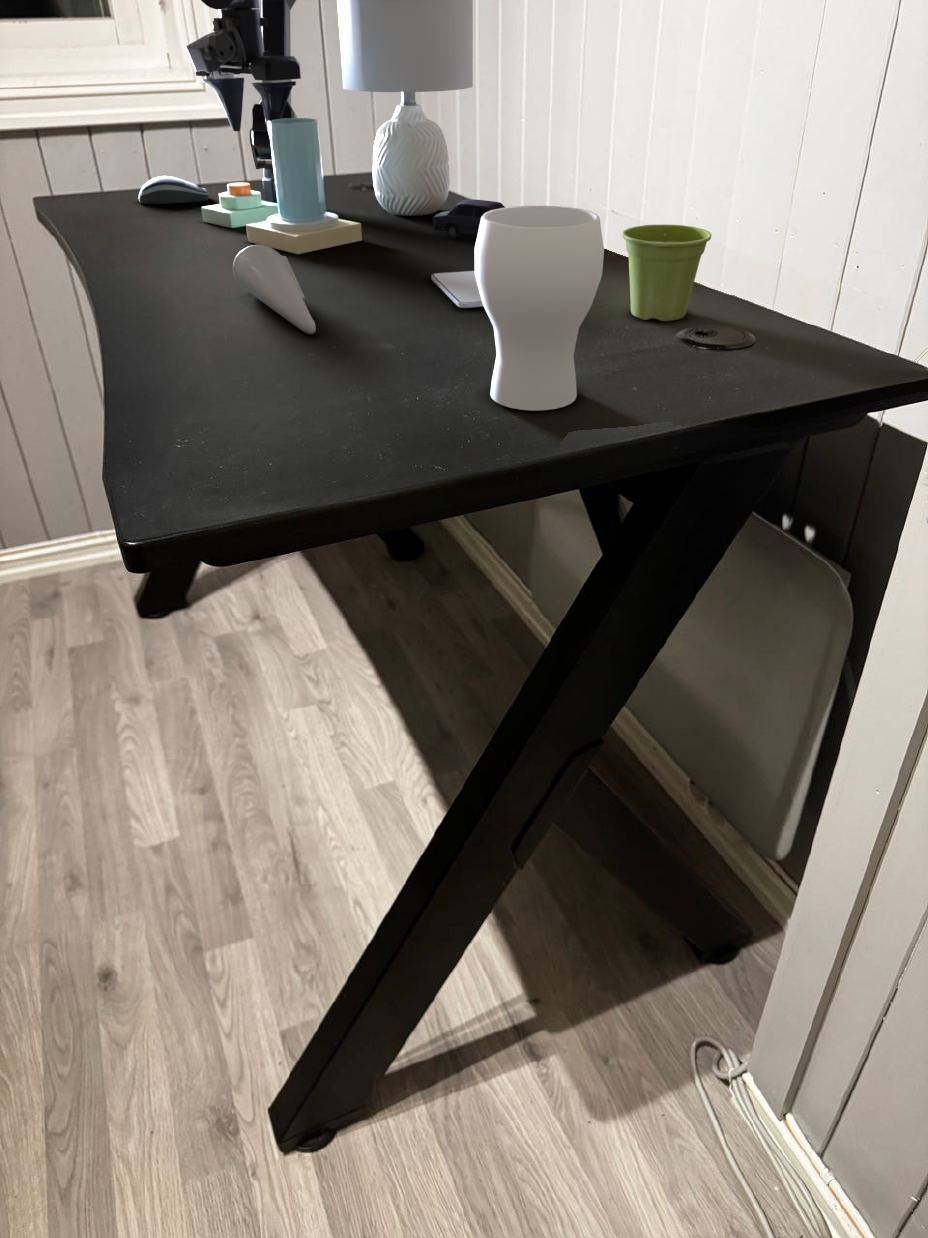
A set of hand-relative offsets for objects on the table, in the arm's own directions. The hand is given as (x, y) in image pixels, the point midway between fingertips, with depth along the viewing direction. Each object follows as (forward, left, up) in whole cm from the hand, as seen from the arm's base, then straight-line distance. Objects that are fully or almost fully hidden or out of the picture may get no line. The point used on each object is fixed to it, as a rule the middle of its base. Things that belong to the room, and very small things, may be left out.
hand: (254, 133), depth 137 cm
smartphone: (+7, +52, -13) cm, 54 cm away
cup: (+29, +80, -13) cm, 86 cm away
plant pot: (0, +74, -13) cm, 75 cm away
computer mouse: (-2, -30, -13) cm, 33 cm away
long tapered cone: (+29, +42, -13) cm, 53 cm away
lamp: (-23, +10, -13) cm, 28 cm away
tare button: (0, -6, -9) cm, 11 cm away
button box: (0, -6, -13) cm, 14 cm away
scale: (+3, +14, -13) cm, 19 cm away
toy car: (-16, +32, -13) cm, 38 cm away
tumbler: (+3, +14, -10) cm, 17 cm away
